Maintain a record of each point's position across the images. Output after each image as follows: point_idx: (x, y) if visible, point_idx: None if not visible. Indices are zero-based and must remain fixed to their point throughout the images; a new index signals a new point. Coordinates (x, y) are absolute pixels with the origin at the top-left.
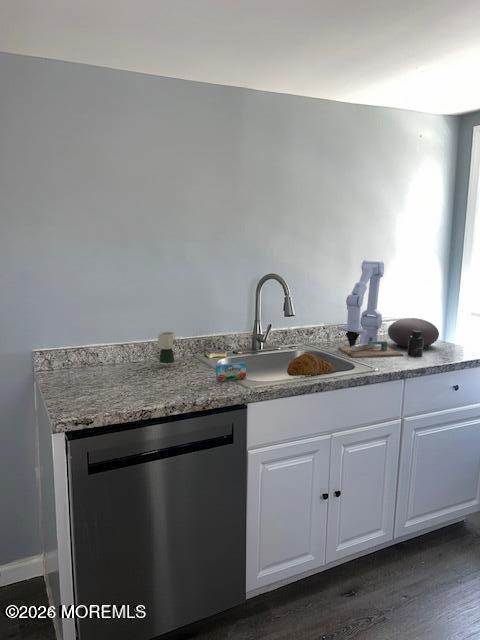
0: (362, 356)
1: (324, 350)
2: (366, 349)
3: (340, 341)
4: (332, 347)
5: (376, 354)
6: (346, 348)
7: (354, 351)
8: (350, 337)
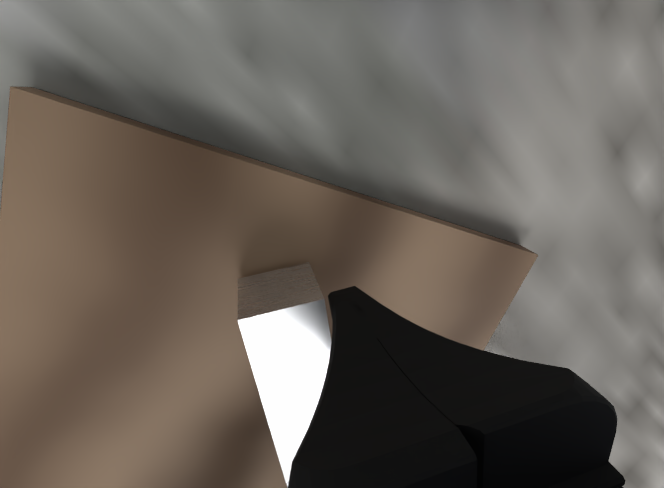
0: (8, 241)
1: (591, 30)
2: None
3: (650, 419)
4: (600, 237)
5: (16, 443)
6: (443, 296)
7: None
8: (390, 387)
